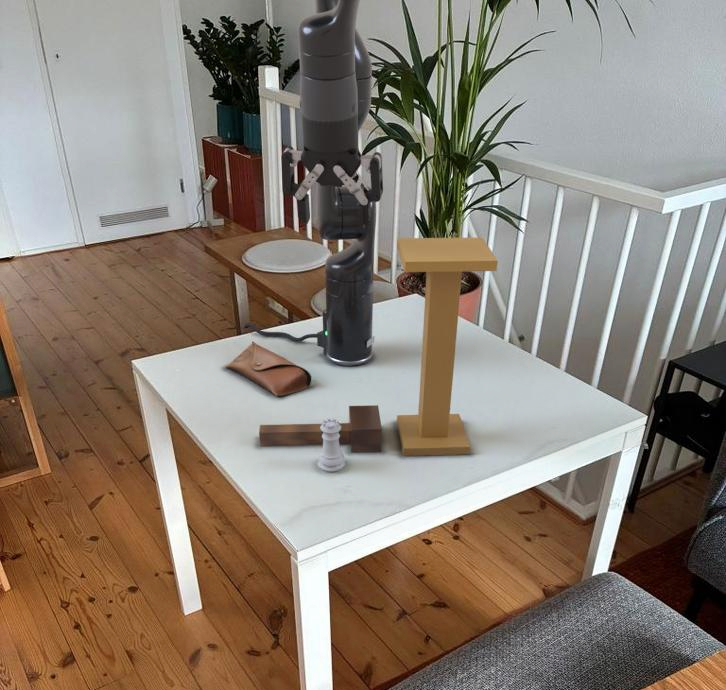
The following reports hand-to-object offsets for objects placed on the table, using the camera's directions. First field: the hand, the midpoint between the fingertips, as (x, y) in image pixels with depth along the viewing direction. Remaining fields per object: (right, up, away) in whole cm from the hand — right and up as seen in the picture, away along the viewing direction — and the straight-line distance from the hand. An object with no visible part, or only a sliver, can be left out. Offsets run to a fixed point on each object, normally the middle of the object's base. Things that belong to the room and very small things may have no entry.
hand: (334, 223), depth 109 cm
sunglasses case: (-15, -18, +35) cm, 42 cm away
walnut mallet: (-3, -31, +15) cm, 35 cm away
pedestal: (+16, -31, +16) cm, 38 cm away
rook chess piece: (-1, -36, +9) cm, 37 cm away
